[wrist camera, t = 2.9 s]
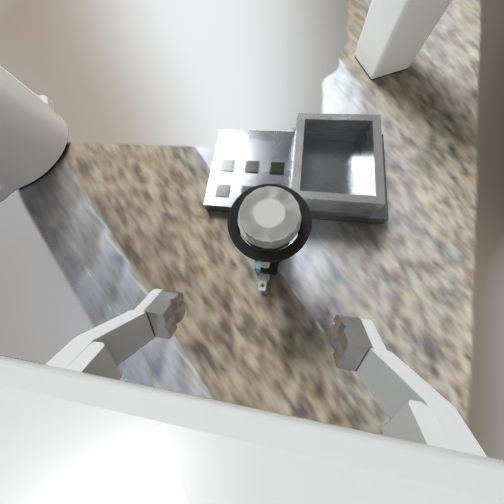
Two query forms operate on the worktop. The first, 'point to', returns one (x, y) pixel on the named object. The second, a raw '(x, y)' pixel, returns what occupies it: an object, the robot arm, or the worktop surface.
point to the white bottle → (396, 33)
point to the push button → (269, 226)
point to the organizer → (307, 166)
